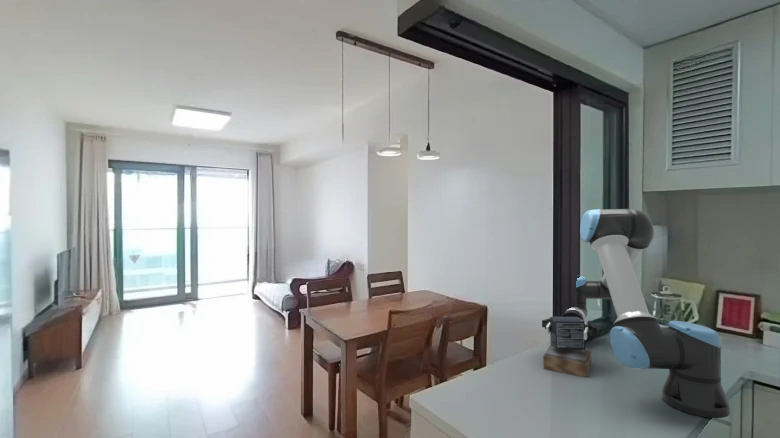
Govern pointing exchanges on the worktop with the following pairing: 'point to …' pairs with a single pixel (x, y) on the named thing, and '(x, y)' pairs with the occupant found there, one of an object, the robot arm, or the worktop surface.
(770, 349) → the worktop surface
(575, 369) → the base
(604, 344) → the worktop surface
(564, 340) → the small box
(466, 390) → the worktop surface
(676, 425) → the worktop surface
